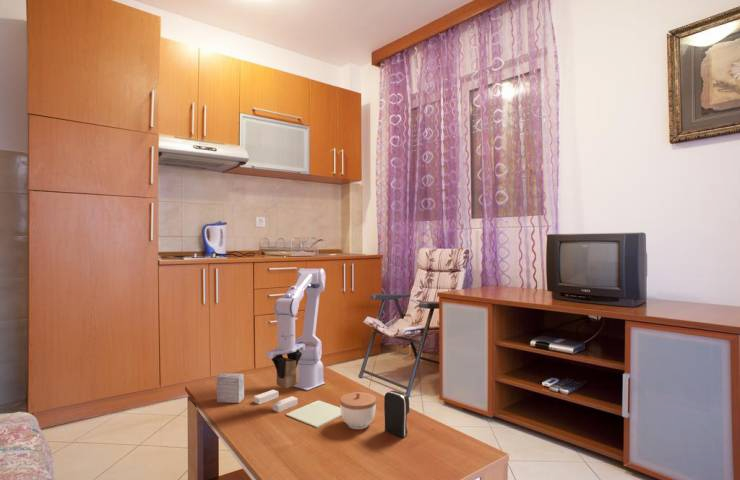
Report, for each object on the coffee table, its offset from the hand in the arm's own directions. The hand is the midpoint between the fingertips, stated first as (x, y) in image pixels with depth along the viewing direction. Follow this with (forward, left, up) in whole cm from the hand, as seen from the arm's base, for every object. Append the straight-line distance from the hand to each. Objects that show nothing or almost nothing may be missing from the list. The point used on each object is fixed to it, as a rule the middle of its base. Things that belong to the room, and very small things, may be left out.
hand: (286, 375), depth 134 cm
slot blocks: (+1, -5, -10) cm, 11 cm away
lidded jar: (-4, +27, -10) cm, 29 cm away
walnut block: (0, 0, -3) cm, 3 cm away
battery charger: (-7, +39, -10) cm, 41 cm away
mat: (-2, +12, -10) cm, 16 cm away
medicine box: (+9, -19, -10) cm, 23 cm away
